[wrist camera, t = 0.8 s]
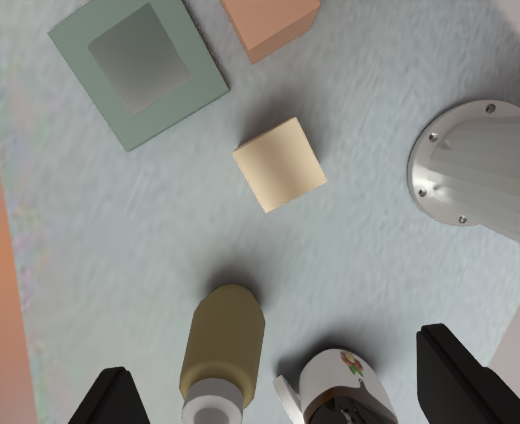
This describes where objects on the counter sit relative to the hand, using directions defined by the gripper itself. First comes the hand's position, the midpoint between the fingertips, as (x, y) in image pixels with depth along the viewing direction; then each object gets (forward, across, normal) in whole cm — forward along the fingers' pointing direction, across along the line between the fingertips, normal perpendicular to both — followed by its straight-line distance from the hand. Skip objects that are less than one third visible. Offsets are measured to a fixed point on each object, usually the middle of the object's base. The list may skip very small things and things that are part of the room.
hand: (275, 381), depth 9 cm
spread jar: (+23, -3, +25) cm, 34 cm away
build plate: (+23, +9, -15) cm, 29 cm away
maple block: (+23, -2, -4) cm, 24 cm away
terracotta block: (+23, -3, -17) cm, 29 cm away
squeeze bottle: (+23, +6, +12) cm, 27 cm away
